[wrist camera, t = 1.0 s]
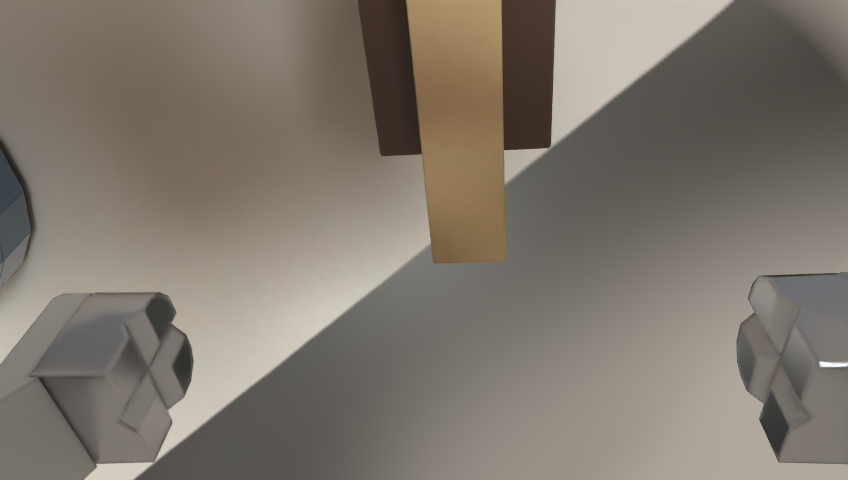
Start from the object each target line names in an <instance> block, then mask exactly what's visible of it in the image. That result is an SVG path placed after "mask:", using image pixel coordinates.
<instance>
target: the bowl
mask: <svg viewBox="0 0 848 480" xmlns="http://www.w3.org/2000/svg"><path fill="white" fill-rule="evenodd" d="M30 233H31V227H30V222H29V216H28V211H27V206H26V201H25V195H24V192H23V188H22V187H21V185H20V183H19V181H18V179H17V177H16V176H15V174H14V172H13V170H12V168H11V167H10V165H9V163H8V161H7V159H6V157H5V156H4V154H3V152H2V150H1V148H0V287H1V286H2V285H3V284H4V283H5V282H6V281H7V279H8V278H9V277H10V276H11V275H12V274H13V273H14V272H15V270H16V269H17V268H18V267H19V266H20V265H21V264H22V262H23V259H24V256H25V252H26V248H27V244H28V240H29V237H30Z"/></svg>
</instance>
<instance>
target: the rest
mask: <svg viewBox="0 0 848 480" xmlns="http://www.w3.org/2000/svg"><path fill="white" fill-rule="evenodd" d="M501 1H502V65H503V130H504V150H517V149H538V148H549V147H550V145H551V125H552V96H553V67H554V38H555V9H556V0H501ZM358 7H359V14H360V20H361V27H362V34H363V41H364V47H365V54H366V61H367V68H368V74H369V81H370V88H371V95H372V102H373V108H374V115H375V122H376V129H377V135H378V142H379V149H380V154H381V156H395V155H416V154H422V151H421V141H420V131H419V121H418V112H417V102H416V92H415V83H414V73H413V63H412V54H411V44H410V34H409V25H408V15H407V5H406V0H358Z"/></svg>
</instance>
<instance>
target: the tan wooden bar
mask: <svg viewBox="0 0 848 480" xmlns="http://www.w3.org/2000/svg"><path fill="white" fill-rule="evenodd" d="M406 5H407V15H408V25H409V34H410V44H411V54H412V63H413V73H414V83H415V92H416V102H417V112H418V121H419V131H420V141H421V151H422V160H423V170H424V180H425V189H426V199H427V209H428V218H429V228H430V238H431V247H432V257H433V262H434V263H461V262H490V261H505V199H504V198H505V195H504V130H503V65H502V1H501V0H406Z"/></svg>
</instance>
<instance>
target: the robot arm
mask: <svg viewBox="0 0 848 480" xmlns="http://www.w3.org/2000/svg"><path fill="white" fill-rule="evenodd" d="M748 300H749V302H750V304H751V306H752V308H753V310H754V313H753V314H752V315H750V316H749V317H748V318H747V319H745V320H744V321H743V322H742V323H741V325H740V329H739V333H738V337H737V363H738V367H739V371H740V375H741V378H742V380H743V383H744V385H745V388H746V390H747V391H748V392H749V393H750V394H751V395H753V396H754V397H756V398H757V399H758V400H760V401H761V402H762V403H764V406H763V409H762V412H761V415H760V418H759V420H760V422H761V424H762V426H763V429H764V431H765V433H766V435H767V438H768V440H769V442H770V444H771V447H772V449H773V451H774V453H775V455H776V458H777V460H778V462H782V463H783V462H784V463H822V464H848V272H841V273H839V274H837V273H826V274H796V275H768V276H758V277H757V279H756V280H755V281H754V282H753V284H752V287H751V290H750V293H749V297H748ZM176 313H177V312H176V310H175V308H174V306H173V304H172V302H171V300H170V298H169V296H168V295H165V294H162V293H159V292H128V293H94V294H93V293H64V294H62V295H59V296H57V297H55V298H53V299H52V300H51V301H50V303H49V304H48V305H47V306H46V308H45V309H44V310H43V311H42V313H41V314H40V315H39V316H38V318H37V319H36V320H35V321H34V323H33V324H32V325H31V326H30V328H29V329H28V330H27V332H26V333H25V334H24V335H23V337H22V338H21V339H20V340H19V342H18V343H17V344H16V345H15V347H14V348H13V349H12V350H11V352H10V353H9V354H8V355H7V357H6V358H5V359H4V361H3V362H2V363H1V364H0V480H84V479H85V478H86V477H87V476H88V475H89V474H90V473H91V472H92V471H93V470H94V469H95V468H96V467H97V466H96V464H106V463H141V462H155V460H156V457H157V455H158V453H159V451H160V449H161V446H162V444H163V442H164V440H165V438H166V436H167V433H168V431H169V429H170V427H171V425H172V423H173V422H172V419H171V417H170V414H169V411H168V410H169V409H170V408H171V407H172V406H174V405H175V404H176V403H177V402H179V401H180V400H181V399H182V398H184V396H185V394H186V391H187V389H188V387H189V384H190V382H191V377H192V369H193V355H192V349H191V345H190V343H189V340H188V338H187V335H186V334H185V333H183V332H182V331H180V330H179V329H178V328H176V327H175V326H174V325H172V324H171V323H172V321H173V319H174V317H175V315H176Z"/></svg>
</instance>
